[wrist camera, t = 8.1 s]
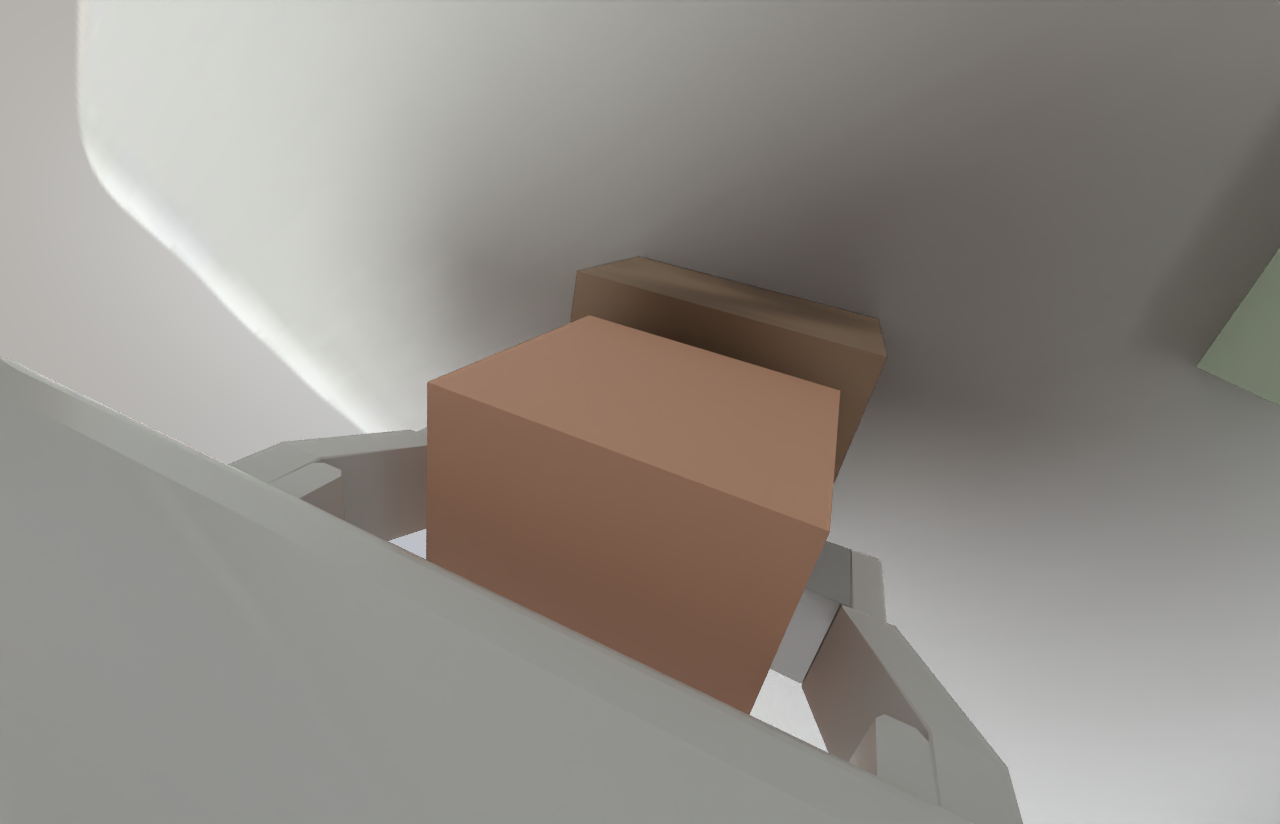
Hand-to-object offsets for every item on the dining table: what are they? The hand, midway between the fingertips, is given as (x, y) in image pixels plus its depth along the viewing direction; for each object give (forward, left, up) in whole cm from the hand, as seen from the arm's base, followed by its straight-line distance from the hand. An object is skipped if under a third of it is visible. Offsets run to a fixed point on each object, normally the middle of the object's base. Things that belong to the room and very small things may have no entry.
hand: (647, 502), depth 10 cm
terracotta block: (0, 0, -2) cm, 2 cm away
